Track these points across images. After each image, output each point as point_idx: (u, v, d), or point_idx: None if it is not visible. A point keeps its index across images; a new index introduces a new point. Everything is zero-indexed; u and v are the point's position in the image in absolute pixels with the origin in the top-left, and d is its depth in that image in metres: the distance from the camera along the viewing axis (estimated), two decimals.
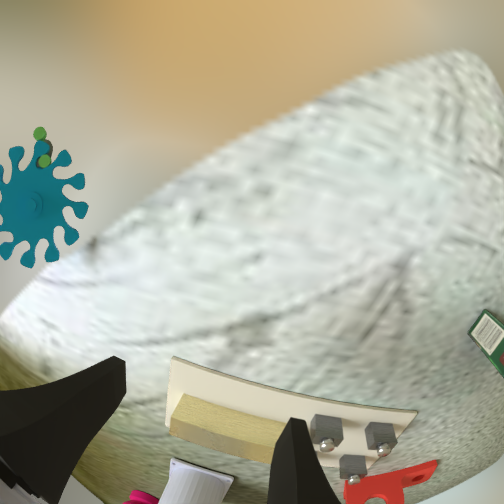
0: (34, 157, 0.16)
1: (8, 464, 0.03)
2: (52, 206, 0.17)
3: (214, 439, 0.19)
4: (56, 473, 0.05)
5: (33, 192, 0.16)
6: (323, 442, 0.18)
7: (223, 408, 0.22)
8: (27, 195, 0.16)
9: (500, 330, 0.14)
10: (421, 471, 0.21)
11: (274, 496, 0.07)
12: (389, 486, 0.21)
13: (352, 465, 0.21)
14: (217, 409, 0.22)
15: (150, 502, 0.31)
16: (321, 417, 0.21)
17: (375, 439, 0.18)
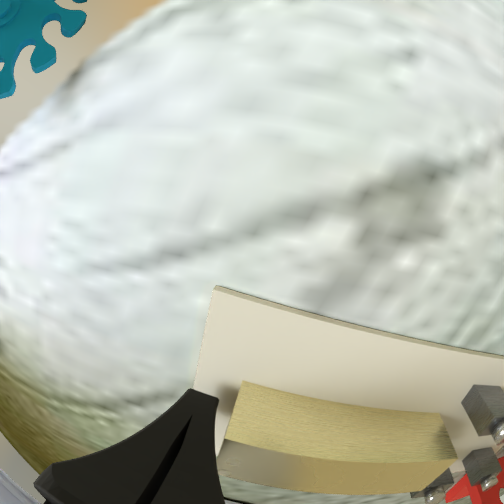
0: None
1: None
2: (31, 13, 0.06)
3: (324, 474, 0.08)
4: None
5: None
6: (503, 427, 0.06)
7: (330, 404, 0.10)
8: (3, 0, 0.04)
9: None
10: None
11: None
12: None
13: (485, 462, 0.09)
14: (319, 407, 0.10)
15: None
16: (482, 389, 0.09)
17: None
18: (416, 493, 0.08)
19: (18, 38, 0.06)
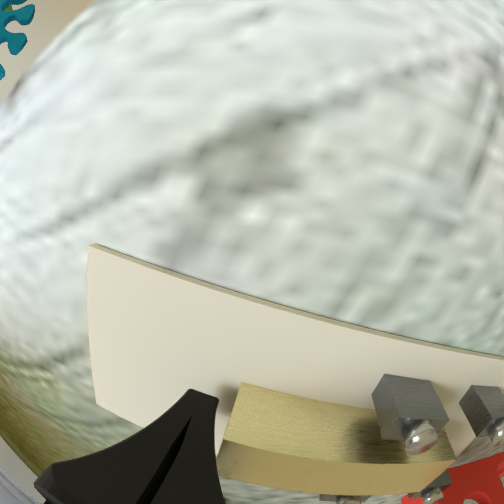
0: None
1: None
2: None
3: (322, 475, 0.08)
4: None
5: None
6: (415, 432, 0.07)
7: (328, 405, 0.10)
8: None
9: None
10: None
11: None
12: (487, 479, 0.09)
13: None
14: (318, 409, 0.10)
15: None
16: (396, 380, 0.09)
17: (490, 414, 0.07)
18: (323, 495, 0.09)
19: None
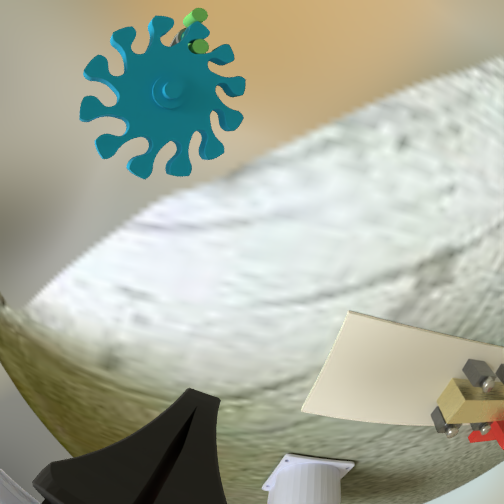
0: (188, 37, 0.12)
1: None
2: (199, 102, 0.14)
3: (484, 409, 0.15)
4: None
5: (178, 76, 0.13)
6: (486, 381, 0.15)
7: None
8: (169, 77, 0.12)
9: None
10: None
11: None
12: None
13: None
14: None
15: None
16: (473, 361, 0.17)
17: None
18: (440, 428, 0.17)
19: (191, 127, 0.14)
